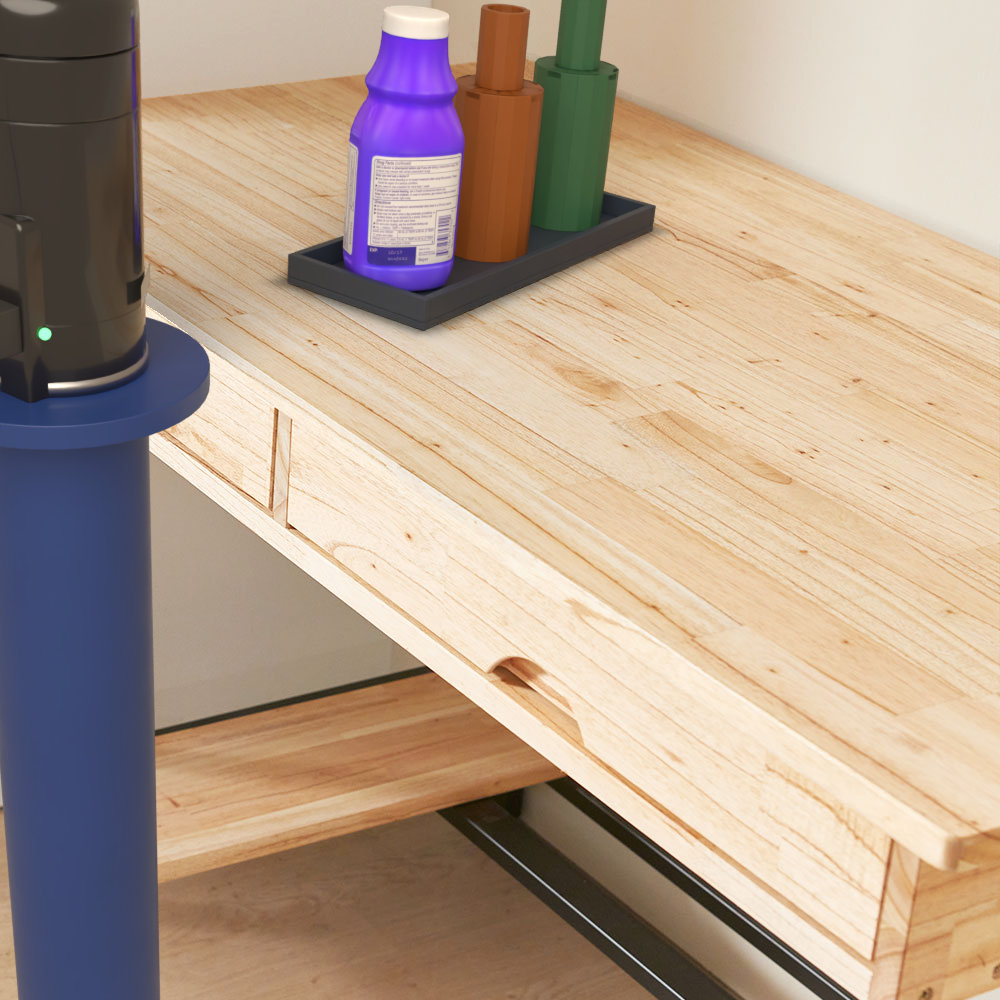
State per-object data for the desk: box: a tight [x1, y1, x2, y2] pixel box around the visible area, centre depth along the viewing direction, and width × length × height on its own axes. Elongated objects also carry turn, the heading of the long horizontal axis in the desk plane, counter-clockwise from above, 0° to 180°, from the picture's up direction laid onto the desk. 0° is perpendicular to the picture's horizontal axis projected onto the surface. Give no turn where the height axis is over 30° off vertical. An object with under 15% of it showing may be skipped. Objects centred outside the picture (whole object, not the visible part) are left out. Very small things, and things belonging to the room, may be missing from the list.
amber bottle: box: [452, 3, 544, 263], centre depth 105 cm, size 6×6×17 cm
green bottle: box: [530, 0, 620, 232], centre depth 113 cm, size 6×6×17 cm
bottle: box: [342, 4, 465, 292], centre depth 97 cm, size 7×6×17 cm
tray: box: [286, 190, 657, 331], centre depth 109 cm, size 29×11×2 cm, turn 146°
